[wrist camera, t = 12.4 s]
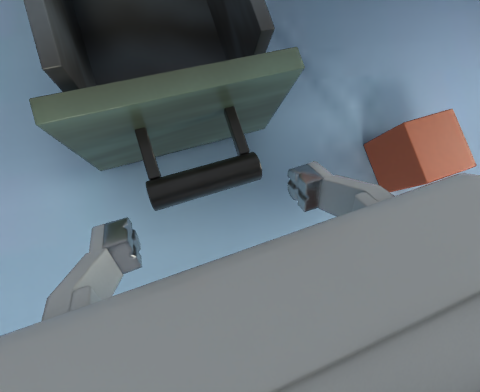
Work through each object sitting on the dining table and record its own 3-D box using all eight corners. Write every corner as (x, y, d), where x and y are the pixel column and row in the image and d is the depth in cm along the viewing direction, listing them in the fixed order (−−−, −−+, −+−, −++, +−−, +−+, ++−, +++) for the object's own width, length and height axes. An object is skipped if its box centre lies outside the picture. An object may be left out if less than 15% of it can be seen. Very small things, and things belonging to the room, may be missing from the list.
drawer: (283, 181, 21) (335, 148, 13) (118, 232, 18) (62, 229, 10) (209, -31, 22) (217, -170, 15) (48, -12, 20) (-43, -169, 12)
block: (424, 179, 24) (477, 165, 19) (381, 194, 23) (427, 183, 18) (405, 131, 24) (453, 108, 20) (362, 144, 23) (403, 122, 19)
